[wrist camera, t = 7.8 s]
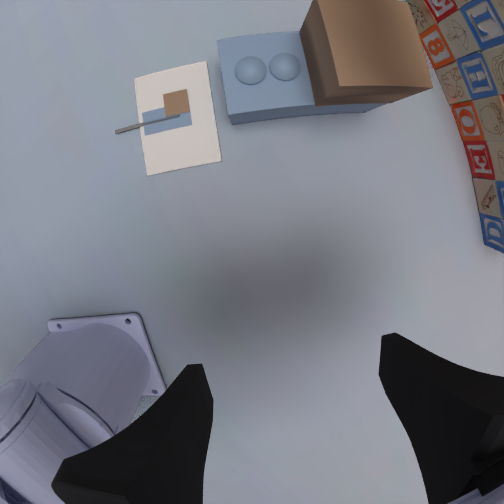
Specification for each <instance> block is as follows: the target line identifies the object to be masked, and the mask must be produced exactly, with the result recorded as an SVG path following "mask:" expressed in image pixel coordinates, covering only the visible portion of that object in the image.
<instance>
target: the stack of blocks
mask: <svg viewBox="0 0 504 504" xmlns="http://www.w3.org/2000/svg"><path fill="white" fill-rule="evenodd" d="M405 2H408V5H409V8H410V10H411V13H412V16H413V19H414V22H415V25H416V28H417V31H418V34H419V37H420V40H421V43H422V45H423V47H424V49H425V51H426V53H427V55H428V57H429V59H430V61H431V63H432V65H433V68H434V69H435V72H436V74H437V77H438V79H439V82H440V84H441V86H442V89H443V91H444V94H445V96H446V99H447V101H448V103H449V105H450V106H451V108H452V112H453V114H454V117H455V119H456V123H457V126H458V129H459V132H460V135H461V138H462V140H463V142H464V146H465V150H466V154H467V157H468V161H469V164H470V168H471V172H472V175H473V183H474V188H475V192H476V197H477V202H478V207H479V212H480V218H481V225H482V230H483V237H484V243H485V245H487V246H489V247H491V248H493V249H495V250H498V251H500V252H502V253H504V0H406V1H405Z"/></svg>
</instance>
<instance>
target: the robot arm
mask: <svg viewBox="0 0 504 504" xmlns="http://www.w3.org/2000/svg"><path fill="white" fill-rule="evenodd" d="M127 318H128V319H130V320H131V322H128V321H127ZM59 324H60V325H61V326H62V327H61V326H60V325H59ZM47 326H48V329H49V331H50V333H49V334H48V335H47V336H46V337H45V338H44V339H43V340H42V341H41V342H40V343H39V344H38V345H37V346H36V347H35V348H34V349H33V350H32V351H31V352H30V353H29V355H28V356H27V357H26V358H25V359H24V360H23V361H22V362H21V363H20V364H19V365H18V366H17V368H16V369H15V371H14V374H13V377H12V380H11V381H9V382H8V383H6V384H5V385H3V386H2V387H1V388H0V504H203V478H204V467H205V461H206V455H207V450H208V444H209V439H210V433H211V428H212V422H213V397H212V394H211V391H210V388H209V385H208V381H207V378H206V375H205V372H204V368H203V365H202V364H190V365H187V366H186V367H185V368H184V369H183V371H182V372H181V373H180V374H179V375H178V377H177V378H176V379H175V380H174V381H173V383H172V384H171V385H170V386H169V387H168V389H167V390H166V387H165V384H164V382H163V379H162V377H161V374H160V371H159V369H158V366H157V363H156V361H155V358H154V355H153V352H152V350H151V347H150V344H149V341H148V338H147V335H146V332H145V329H144V326H143V323H142V320H141V317H140V316H139V315H138V314H136V313H129V314H118V315H107V316H95V317H83V318H70V319H55V320H50V321H48V323H47ZM379 377H380V379H381V382H382V385H383V388H384V390H385V393H386V395H387V397H388V399H389V400H390V402H391V404H392V406H393V408H394V410H395V411H396V413H397V415H398V417H399V419H400V421H401V422H402V424H403V426H404V428H405V430H406V432H407V434H408V436H409V438H410V441H411V443H412V446H413V449H414V452H415V454H416V457H417V460H418V464H419V467H420V470H421V473H422V477H423V481H424V485H425V489H426V493H427V498H428V503H429V504H504V377H501V376H495V375H490V374H486V373H482V372H478V371H475V370H471V369H469V368H466V367H463V366H460V365H457V364H455V363H452V362H450V361H448V360H446V359H444V358H442V357H439V356H437V355H435V354H434V353H432V352H430V351H428V350H426V349H424V348H422V347H421V346H419V345H417V344H415V343H414V342H412V341H410V340H408V339H407V338H405V337H403V336H401V335H399V334H397V333H391V334H387V335H383V336H382V339H381V353H380V365H379ZM154 390H157V391H154ZM142 396H161V397H160V398H159V399H158V400H157V401H156V402H155V403H154V404H153V405H152V406H151V407H150V408H149V409H148V410H147V411H146V412H145V413H144V414H142V415H141V416H140V417H139V418H138V419H136V420H135V421H134V422H133V423H132V424H131V422H132V420H133V417H134V414H135V412H136V410H137V407H138V405H139V402H140V400H141V397H142Z"/></svg>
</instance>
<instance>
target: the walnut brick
mask: <svg viewBox="0 0 504 504" xmlns="http://www.w3.org/2000/svg"><path fill="white" fill-rule="evenodd" d="M299 34H300V38H301V42H302V46H303V50H304V55H305V59H306V64H307V68H308V73H309V77H310V82H311V87H312V92H313V97H314V102H315V107H316V106H328V105H344V104H369V103H393V102H395V101H398V100H401V99H403V98H406V97H409V96H411V95H414V94H417V93H420V92H422V91H425V90H428V89H431V88H433V86H432V82H431V77H430V73H429V69H428V65H427V61H426V58H425V54H424V51H423V47H422V44H421V40H420V37H419V34H418V31H417V28H416V25H415V22H414V19H413V16H412V13H411V10H410V8H409V5H408V2H403V1H397V0H313V1H312V4H311V6H310V8H309V11H308V13H307V16H306V18H305V20H304V23H303V25H302V28H301V30H300V32H299Z"/></svg>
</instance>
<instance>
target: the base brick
mask: <svg viewBox="0 0 504 504" xmlns="http://www.w3.org/2000/svg"><path fill="white" fill-rule="evenodd" d="M299 32H300V31H293V32H277V33H266V34H256V35H247V36H239V37H232V38H226V39H220V40H217V46H218V53H219V59H220V65H221V72H222V78H223V85H224V91H225V97H226V104H227V110H228V115H229V118H230V121H231V123H232V125H235V124H241V123H248V122H255V121H262V120H270V119H279V118H288V117H298V116H309V115H321V114H337V113H359V112H367V111H370V110H372V109H375V108H377V107H379V106H382V105H385V104H387V103H369V104H344V105H328V106H316V107H315V102H314V97H313V92H312V87H311V82H310V77H309V73H308V68H307V64H306V59H305V55H304V50H303V46H302V42H301V38H300V34H299Z"/></svg>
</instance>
